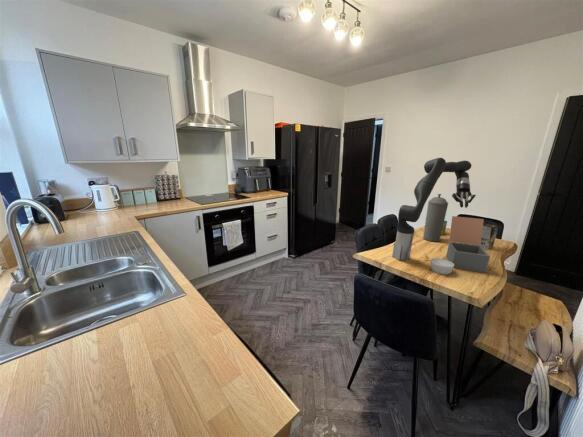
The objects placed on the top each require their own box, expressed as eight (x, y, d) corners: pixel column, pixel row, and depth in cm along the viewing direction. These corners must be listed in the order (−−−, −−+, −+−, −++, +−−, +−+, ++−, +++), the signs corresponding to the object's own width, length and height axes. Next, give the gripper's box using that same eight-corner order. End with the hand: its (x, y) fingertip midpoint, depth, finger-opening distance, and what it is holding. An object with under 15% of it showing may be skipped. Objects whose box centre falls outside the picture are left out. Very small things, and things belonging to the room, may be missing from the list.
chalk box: (436, 235, 188) (439, 217, 184) (426, 231, 197) (429, 214, 193) (445, 234, 191) (448, 217, 187) (435, 231, 199) (439, 214, 195)
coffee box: (488, 250, 161) (493, 227, 157) (477, 247, 166) (482, 225, 162) (493, 247, 166) (499, 225, 161) (482, 244, 171) (487, 223, 167)
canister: (444, 242, 174) (454, 195, 165) (428, 242, 173) (437, 195, 164) (433, 236, 187) (442, 192, 177) (418, 236, 186) (425, 192, 176)
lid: (483, 219, 141) (483, 219, 142) (452, 216, 147) (452, 216, 148) (480, 245, 142) (479, 245, 143) (449, 241, 148) (448, 241, 149)
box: (485, 272, 130) (490, 256, 128) (451, 267, 136) (455, 251, 133) (476, 260, 145) (480, 245, 142) (446, 256, 150) (449, 241, 148)
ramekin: (424, 268, 135) (426, 259, 134) (437, 264, 140) (439, 256, 138) (443, 277, 125) (445, 268, 124) (456, 273, 130) (458, 264, 128)
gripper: (453, 181, 160) (453, 202, 153) (477, 183, 155) (479, 204, 148) (449, 188, 167) (450, 209, 159) (473, 189, 162) (474, 211, 154)
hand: (464, 206), depth 154 cm, fingers closed
